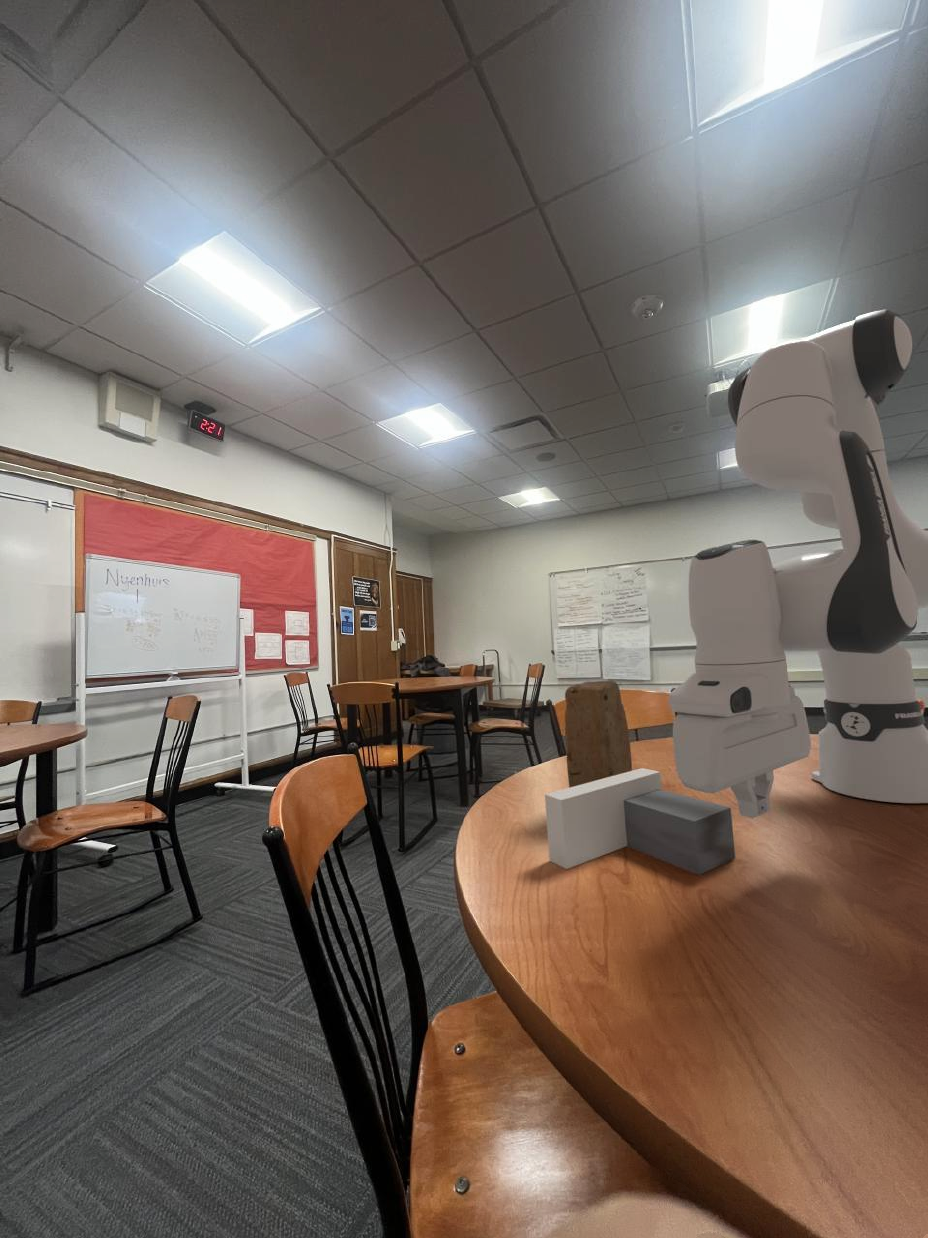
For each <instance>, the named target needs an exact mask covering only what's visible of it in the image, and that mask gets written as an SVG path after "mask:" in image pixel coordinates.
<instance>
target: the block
mask: <svg viewBox="0 0 928 1238" xmlns="http://www.w3.org/2000/svg"><path fill="white" fill-rule="evenodd" d="M621 695H622V694H621V691H620V686H619V684H618V682H616V681H614V680H599V681H597V680H596V681H584V682H582V683H576V684H573V685H571V686H570V685H569V687H567V689H566V690H565V693H564V698H565V699H564V700H565V704H566V705H565V711H564V725H565V726H564V735H565V736H564V737H565V749H566V767H567V776H568V777H567V780H568V788H570V787H574V786H578V785H581V784H585V783H589V782H593V781H596V780H600V779H604V778H607V777H611V776H615V775H618V774H622V773H626V772H629V771H633V765H632V764H633V763H632V750H631V741H630V740H631V739H630V734H629V733H630V732H629V726H628V721H627V716H626V711H625V708H624V704H623V702H622V697H621Z"/></svg>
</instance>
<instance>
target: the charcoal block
mask: <svg viewBox="0 0 928 1238" xmlns="http://www.w3.org/2000/svg"><path fill="white" fill-rule="evenodd" d="M624 811H625V823H626V836H627V846H626V847H628V848H631V849H633V850H635V851H638V852H640V853H643V854H645V855H647V856H650V857H653V858H655V859H658V860H660V861H662V862H666V863H668V864H670V865H673V866H675V867H677V868H680V869H683V870H685V871H687V872H690V873H693V874H694V875H695V874H696V875H698V876H700V875H702V874H704V873H706V872H708V871H711V870H712V869H714V868H717V867H718V866H721V865H722V864H725V863H727V862H730V861H732V860H734V859H735V858H736V851H735V843H734V842H735V839H734V838H735V837H734V833H733V832H734V831H733V819H732V818H733V817H732V807H729V806H725V805H722V804H719V803H716V802H715V803H714V802H711V801H707V800H702V799H699V798H695V797H691V796H687V795H683V794H679V793H675V792H672V791H668V790H663V789H662V790H660V789H658V790H655V791H652V792H648V793H645V794H642V795H639V796H635V797H632V798H629V799H626V800H624Z"/></svg>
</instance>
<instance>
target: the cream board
mask: <svg viewBox="0 0 928 1238" xmlns="http://www.w3.org/2000/svg"><path fill="white" fill-rule="evenodd" d="M662 788H663V787H662V778H661V771H657V770H654V769H649V768H644V767H641V768H638V769H632V771H629V772H626V773H622V774H618V775H615V776H611V777H607V778H604V779H600V780H596V781H593V782H589V783H585V784H581V785H578V786H574V787H570V788H569V787H567V788H564V789H559V790H556V791H552V792H550V793H546V794H544V802H545V814H546V816H545V817H546V829H547V840H548V854H549V855H548V856H549V861H550V862H552V863H553V864H556V865H557V866H559V867H561V868H563V869H565V870H568V869H571V868H574V867H576V866H579V865H582V864H585V863H586V862H590V861H591V860H595V859H597V858H599V857H602V856H604V855H605V856H606V855H607V854H609V853H612V852H615V851H618V850H620V849H623V848H626V847H628V846H627V836H626V823H625V811H624V800H626V799H629V798H632V797H635V796H639V795H642V794H645V793H648V792H652V791H655V790H658V789H660V790H663V789H662Z"/></svg>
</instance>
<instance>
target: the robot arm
mask: <svg viewBox="0 0 928 1238" xmlns="http://www.w3.org/2000/svg"><path fill="white" fill-rule="evenodd" d="M912 337H913V336H912V334H911V331H910V329H909V327H908V325H907V324H906V323H905V322H904V321H903V319H902V318H901V316H900V315H899V313H898V312H895V311H893V310H890V309H888V308H886V309H880V310H875V311H871V312H868V313H864V314H861V315H857V317H855V320H851V321H848V322H844V323H841V324H839V325H835V326H833V327H830V328H827V329H825V330H822V331H820V332H817V333H815V334H812V335H809V336H808V337H805V338H802V339H795V340H788V341H784V342H781V343H778V344H776V345H774V346H773V347H772V346H771V348H769V349H768V350H765V351H764V352H763V353H761V355H759V356H758V358H757V359H756V360H755V361H754V363H753V364H751V365H749V366H748V367H747V368H745V369H744V370H742V371H741V372H740V373H739V374H737V375H736V376H735V377H734V379H733V381H732V383H731V385H729V388H728V392H727V404H728V409H729V414H730V417H731V420H732V421H733V423H734V425H735V426H736V429H735V431H736V432H735V438H734V439H735V441H734V442H735V443H734V447H735V448H734V450H735V451H734V452H735V460H736V463H737V466H738V468H739V469H740V471H741V473H743V475H744V476H745V477H746V478H747V479H748V480H750V481H751V482H753V483H755V484H757V485H759V486H761V487H764V488H766V489H770V490H775V491H778V492H780V491H781V492H787V493H789V492H790V493H791V492H792V493H794V492H795V493H798V492H799V493H800V494H801V495H800V496H801V501H802V502H801V503H802V510H803V513H804V515H805V516H806V517H807V519H808V520H809V521H810V522H812V523H814V524H816V525H819V526H822V527H825V528H826V527H827V528H829V529H830V528H831V529H835V530H838V531H839V535H840V540H841V546H842V548H840V549H839V548H838V549H833V550H831V549H830V550H827V551H819V552H812V553H806V554H801V555H797V556H794V557H791V558H789V559H786V560H782V561H779V562H777V563H775V564H773V563H772V560H771V556H770V553H769V549H768V547H767V545H766V543H765V542H764V541H762V540H757V539H747V540H741V541H736V542H732V543H725V544H723V545H719V546H714V547H710V548H706V549H703V550H701V551H700V552H698V553H696V554H695V555H694V556H693V557H692V558H691V562H690V565H689V573H688V607H689V609H688V610H689V620H690V625H691V626H690V627H691V629H692V632H693V634H694V636H695V637H694V638H695V641H696V648H695V649H696V650H695V655H694V667H695V672H694V673H692V674H691V675H690V676H689V677H688V678H687V679H686V680H685V681H683V682H682V683H681V684H680V685H679V686H677V687H676V688H674V689H673V690H672V691H671V692H670V693H669V695H668V706H669V709H670V711H672V712H673V713H678V714H677V715H676V717H675V718H674V720H673V724H672V745H673V755H674V762H675V770H676V774H677V777H678V779H679V780H680V782H681V784H682V785H683V786H684V787H685V788H688V789H691V790H693V791H697V792H703V793H708V794H716V793H719V792H721V791H723V790H725V789H729V788H730V789H731V791H732V793H733V795H734V796H735V797H736V799H737V804H738V805H737V806H738V812H739V814H740V815H741V816H743V817H746V818H749V819H755V818H757V817H760V816H761V815H763V814H766V813H768V812H770V810H771V804H770V796H771V791H772V789H773V784H774V780H775V776H774V770H777V769H781V767H785V766H787V765H790V764H792V763H795V762H797V761H800V760H802V759H806V758H807V757H809V755H810V753H811V747H812V741H811V735H810V730H809V725H808V724H809V723H808V719H807V713H806V710H805V707H804V703H803V701H802V700H801V698H800V697H799V696H797V695H796V692H795V688H794V686H791V684H790V683H789V682H790V681H789V674H788V665H787V657H786V653H785V651H786V652H817V654H818V658H819V661H820V667H821V669H822V675H823V679H824V680H823V681H824V682H823V683H824V689H825V690H824V691H825V695H826V696H825V697H826V698H825V699H824V700H823V713H824V720H825V721H826V722H827V724H826V726H825V727H824V728H822V729H821V730H820V731H819V732H818V736H817V737H818V740H817V741H818V766H819V767H818V769H819V770H816V771H815V770H814V771H812V772H811V779H812V780H814V781H816V782H819V783H821V784H822V785H823V786H824V787H825V788H827V789H828V790H830V791H833V792H835V793H838V794H841V795H842V794H843V795H845V796H849V797H854V798H858V799H862V800H863V799H865V800H871V801H876V802H877V801H878V802H887V803H900V804H928V729H927V728H926V727H925V725H924V724H925V723H926V721H925V717H924V714H925V713H924V712H925V709H926V706H925V702H924V700H923V699H917V698H916V697H917V696H916V691H915V683H914V682H915V681H914V673H913V665H912V664H913V663H912V658H911V655H910V653H909V650H907V649H906V648H905V647H904V646H903V645H902V644H901V643H900V642H901V641H903V640H904V639H905V638H906V637H908V636H909V635H910V634H911V633H912V632H913V631H914V630H915V629H916V627H917V624H918V615H919V610H920V609H925V608H928V531H927V530H925V529H924V528H922V527H921V526H919V525H917V524H916V523H914V522H913V521H912V520H911V519H910V518H909V517H908V516H907V515H906V514H905V512H904V511H903V510H902V509H901V508H900V506H899V504H898V502H897V500H896V497H895V494H894V491H893V487H892V483H891V479H890V475H889V468H888V463H887V457H886V456H887V455H886V451H885V450H886V449H885V443H884V437H883V432H882V429H881V425H880V421H879V417H878V414H877V412H876V409H875V406H874V404H873V402H874V403H875V404H876V406H878V405H880V404H881V403H883V402H884V400H885V397H886V394H887V393H888V392H890V391H891V390H892V389H894V388H896V386H897V385H898V384H899V382H900V381H901V380H902V378H903V377H904V376H905V374H906V373H907V370H908V369H909V362H910V360H911V356H912V352H913V351H912V350H913V338H912ZM872 400H873V402H872Z"/></svg>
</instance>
